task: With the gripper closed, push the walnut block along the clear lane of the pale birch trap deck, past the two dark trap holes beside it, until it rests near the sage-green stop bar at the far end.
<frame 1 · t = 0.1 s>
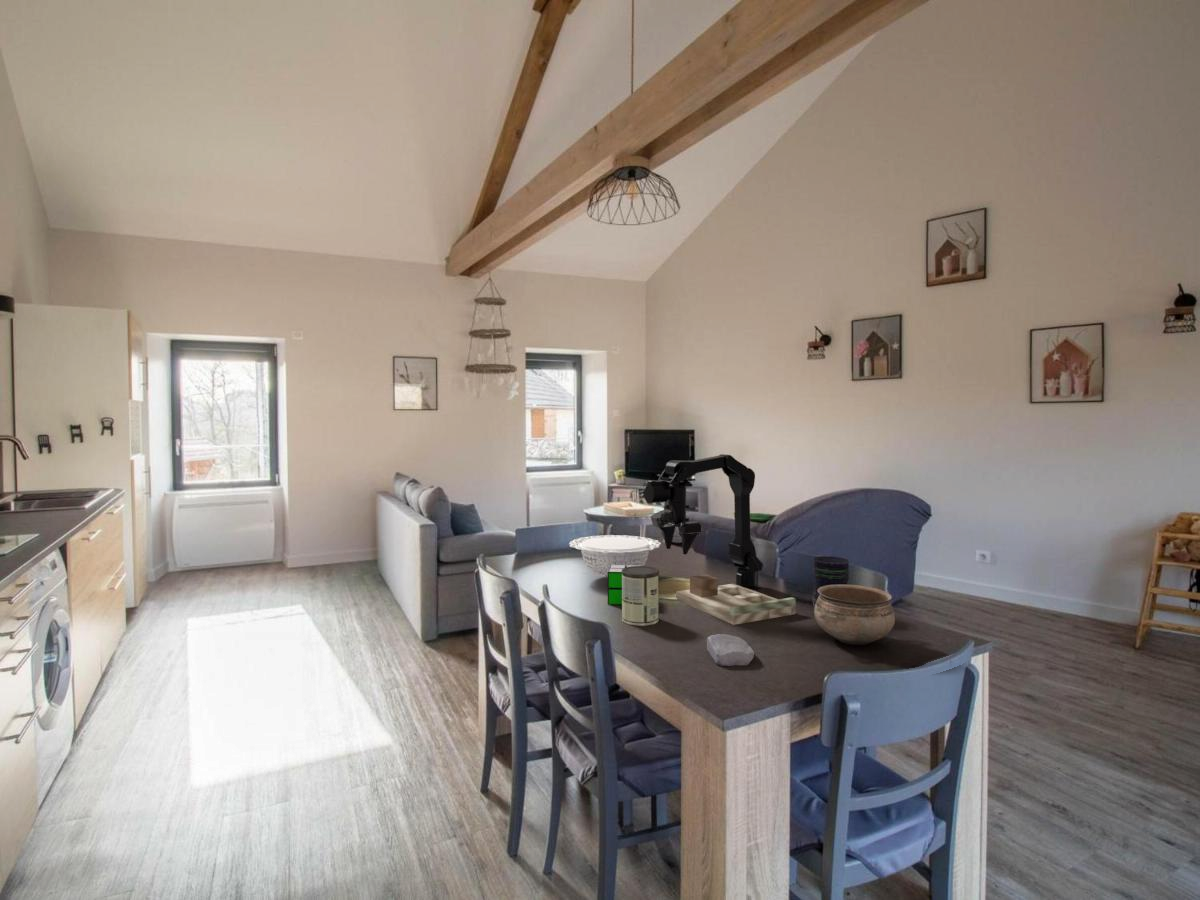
hand: (676, 551, 208), 14 cm above the table, fingers open, 9 cm apart
stone block: (731, 658, 158), on the table
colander: (614, 579, 232), on the table
coffee can: (640, 621, 186), on the table
cooking pot: (853, 642, 169), on the table
walnut block: (703, 593, 204), point 2 cm above the table, touching trap deck
puzzle cube: (625, 601, 205), on the table
trap deck: (733, 606, 199), on the table
storage jar: (830, 611, 195), on the table
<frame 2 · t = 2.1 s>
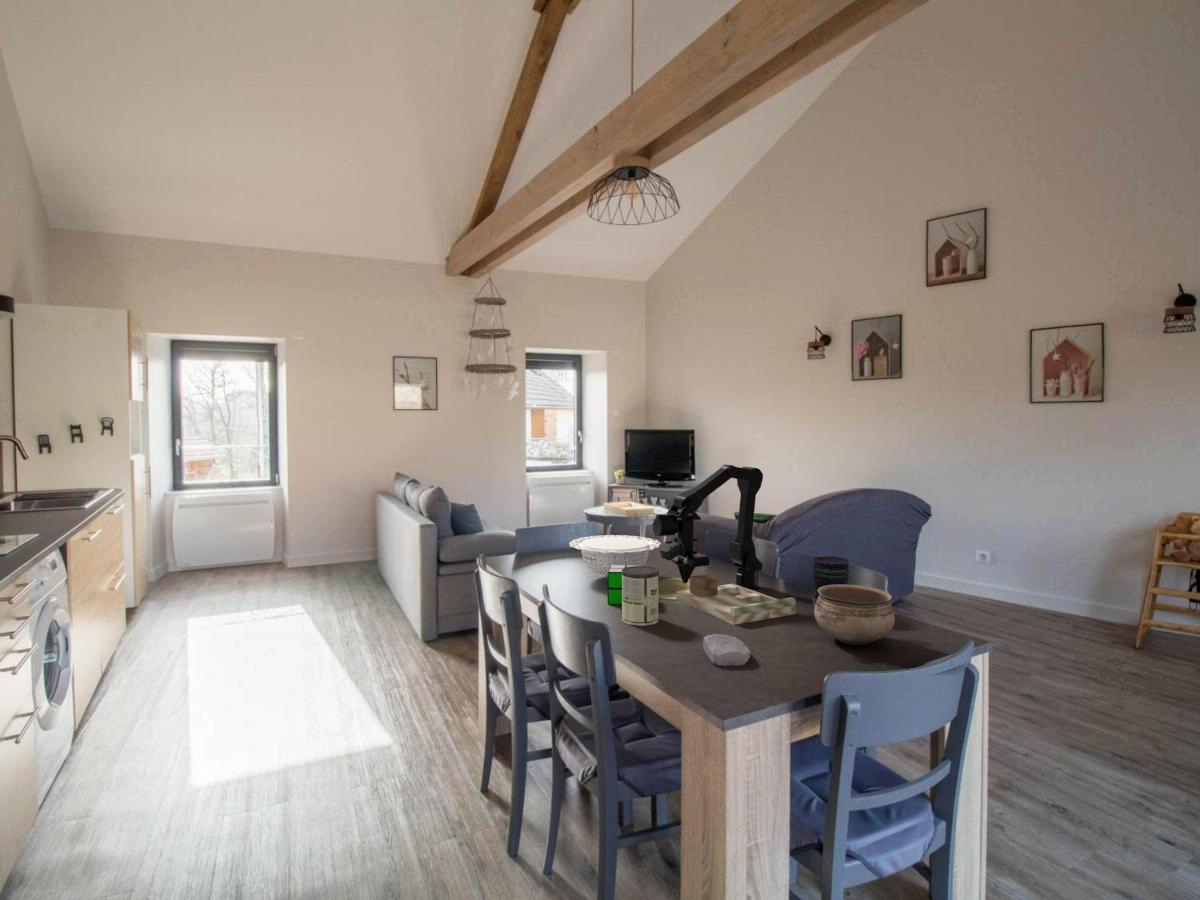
hand: (684, 583, 213), 4 cm above the table, fingers closed
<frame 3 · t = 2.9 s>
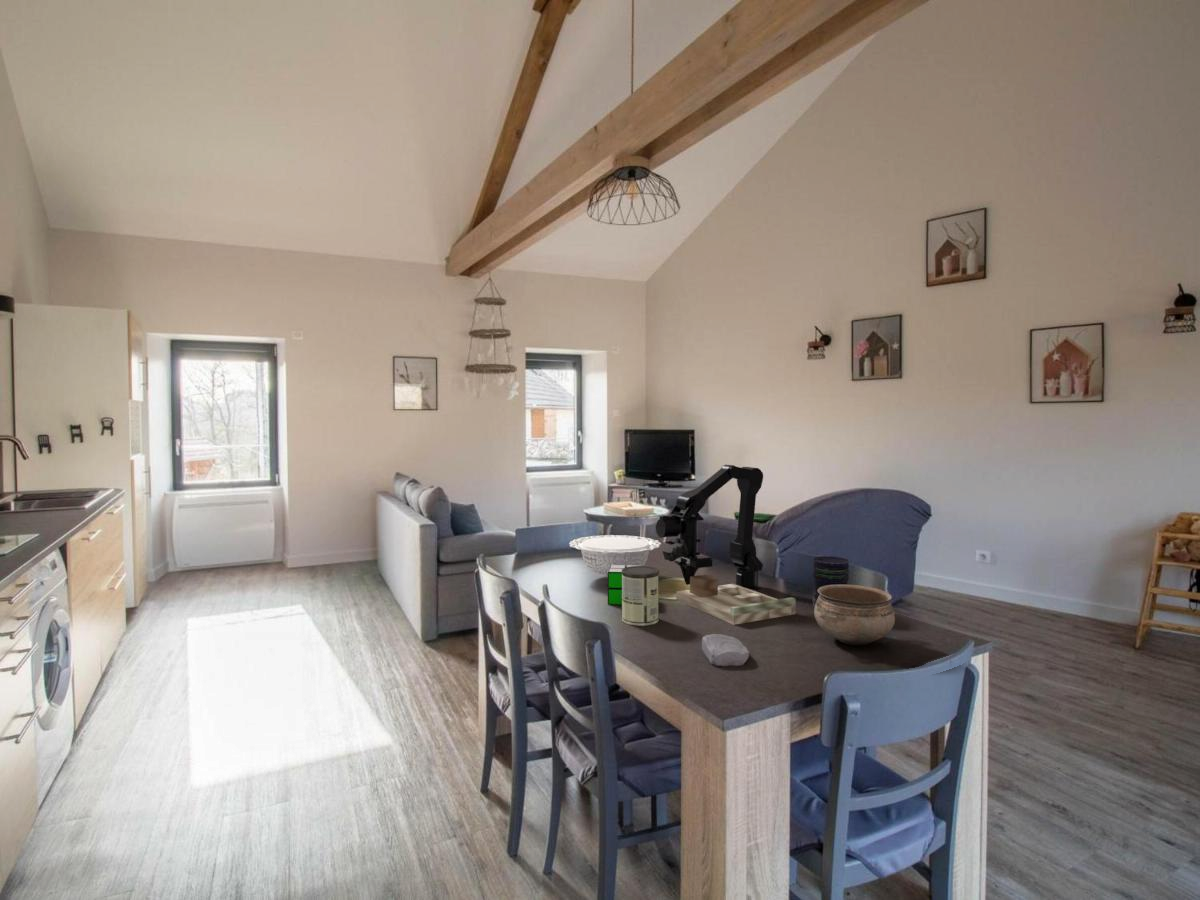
hand: (687, 584, 211), 3 cm above the table, fingers closed
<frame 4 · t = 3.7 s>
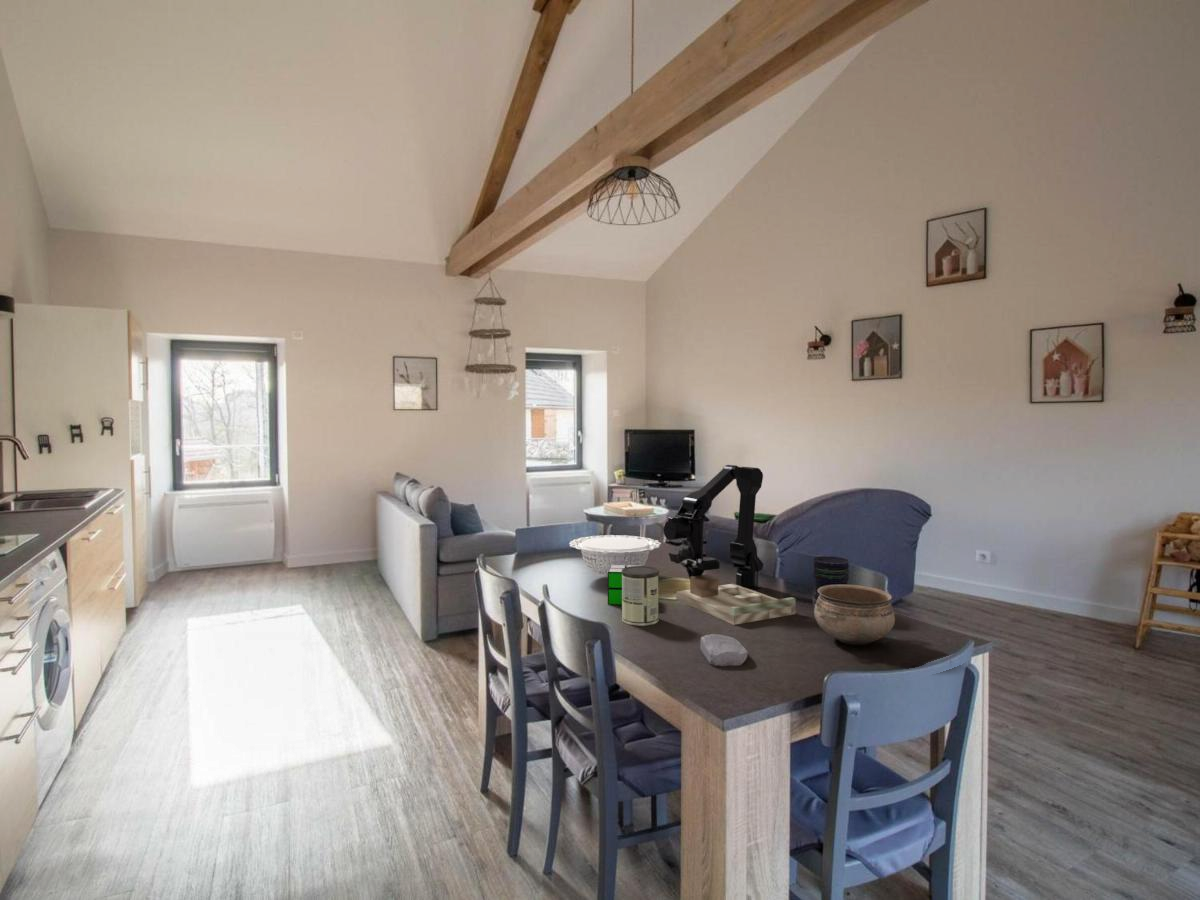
hand: (693, 586, 208), 4 cm above the table, fingers closed
walnut block: (704, 594, 204), point 3 cm above the table, touching gripper
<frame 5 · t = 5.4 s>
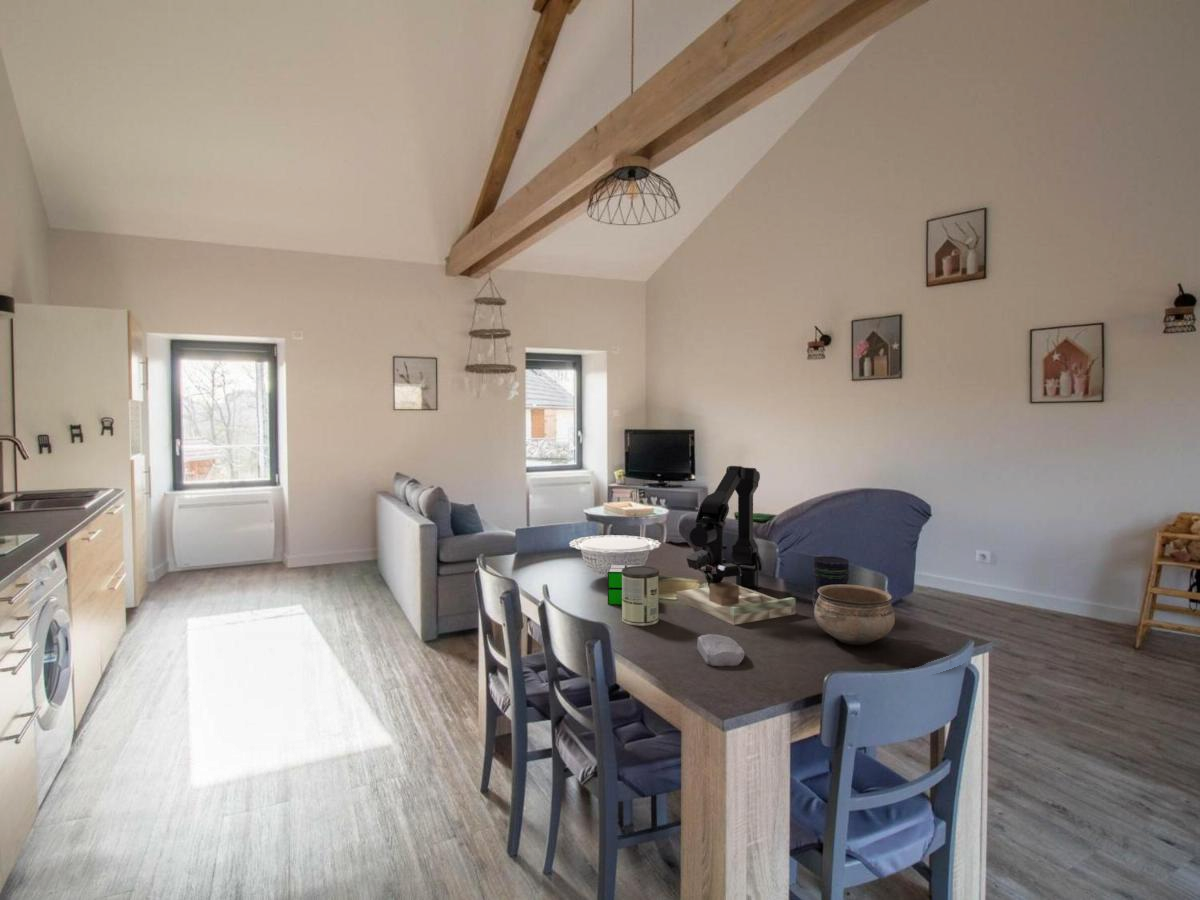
hand: (712, 593, 199), 4 cm above the table, fingers closed
walnut block: (723, 601, 195), point 3 cm above the table, touching gripper
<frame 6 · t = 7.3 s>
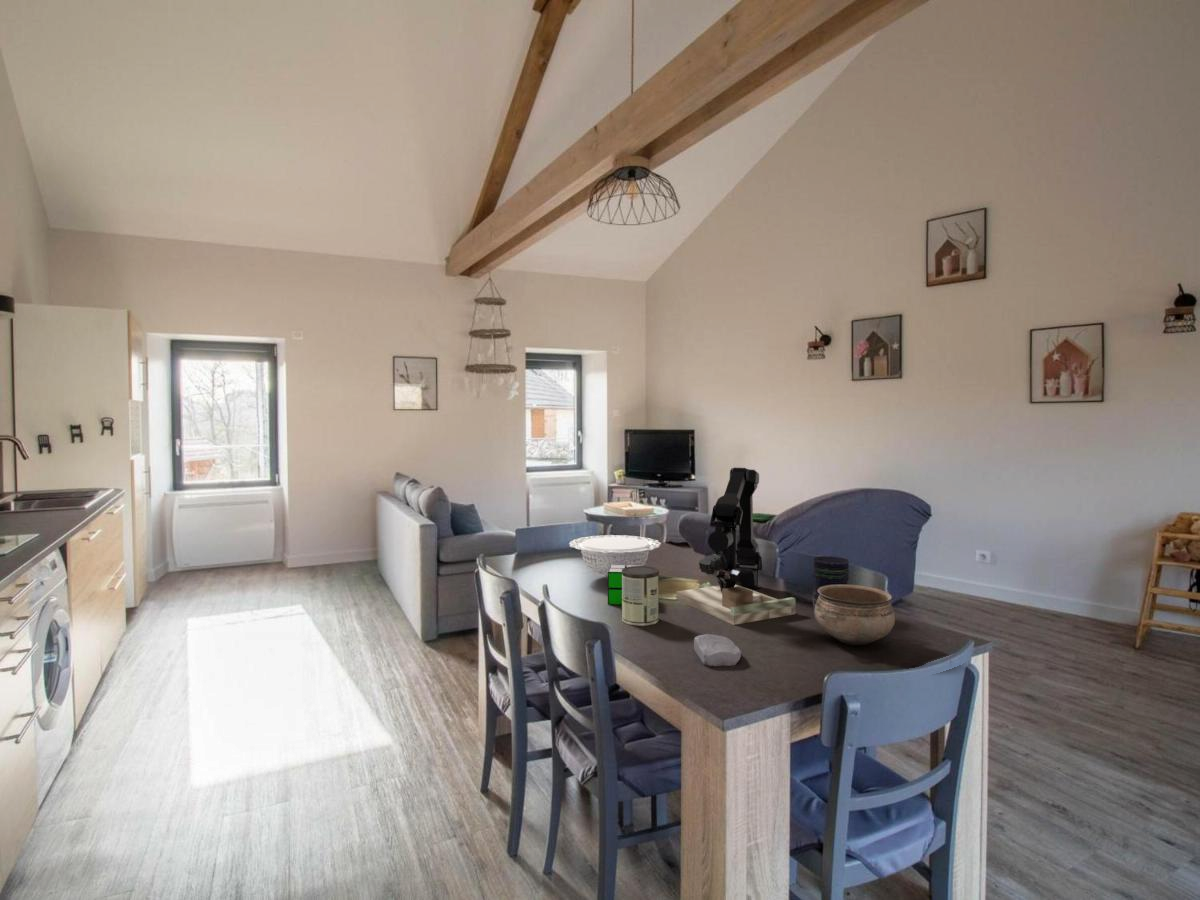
hand: (725, 598, 194), 4 cm above the table, fingers closed
walnut block: (737, 607, 190), point 2 cm above the table, touching gripper, trap deck
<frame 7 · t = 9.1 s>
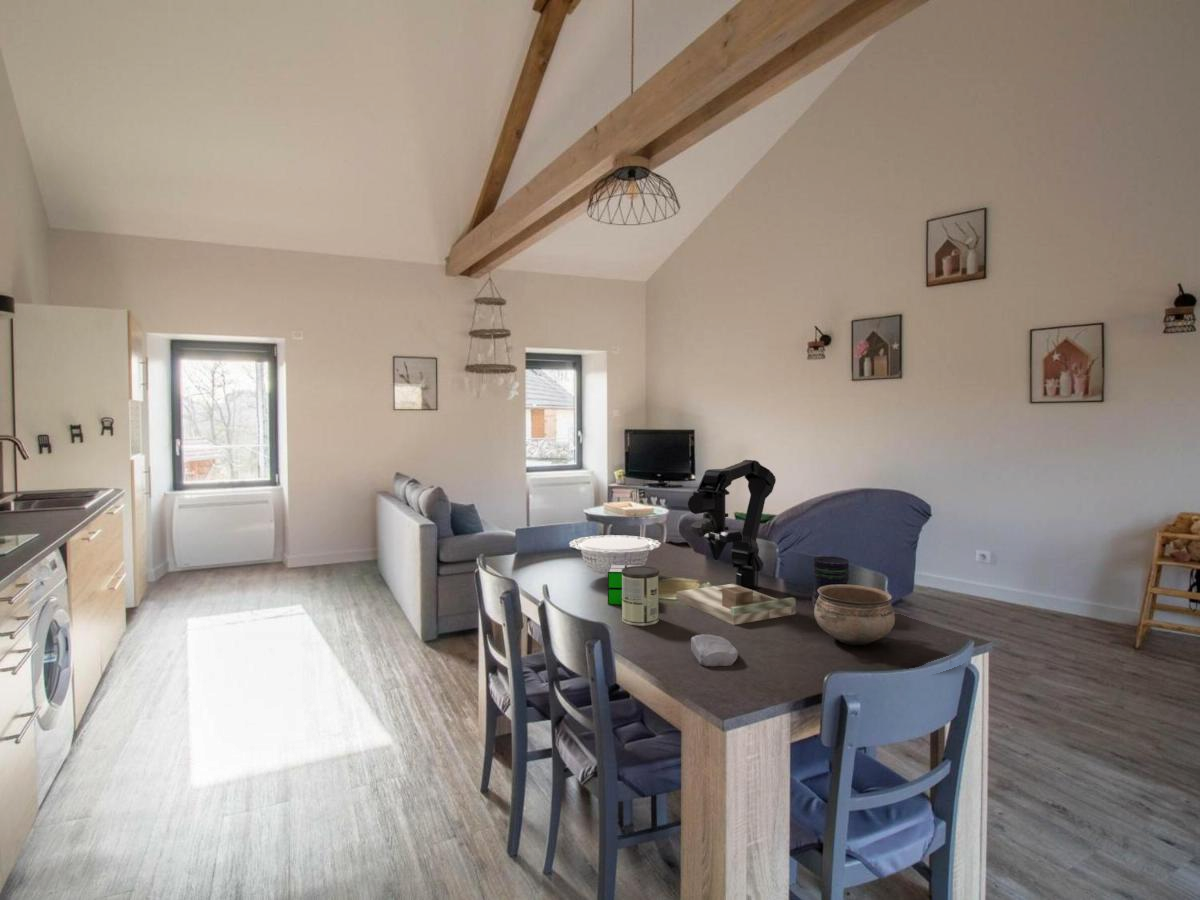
hand: (716, 559, 210), 12 cm above the table, fingers closed
walnut block: (737, 607, 190), point 2 cm above the table, touching trap deck
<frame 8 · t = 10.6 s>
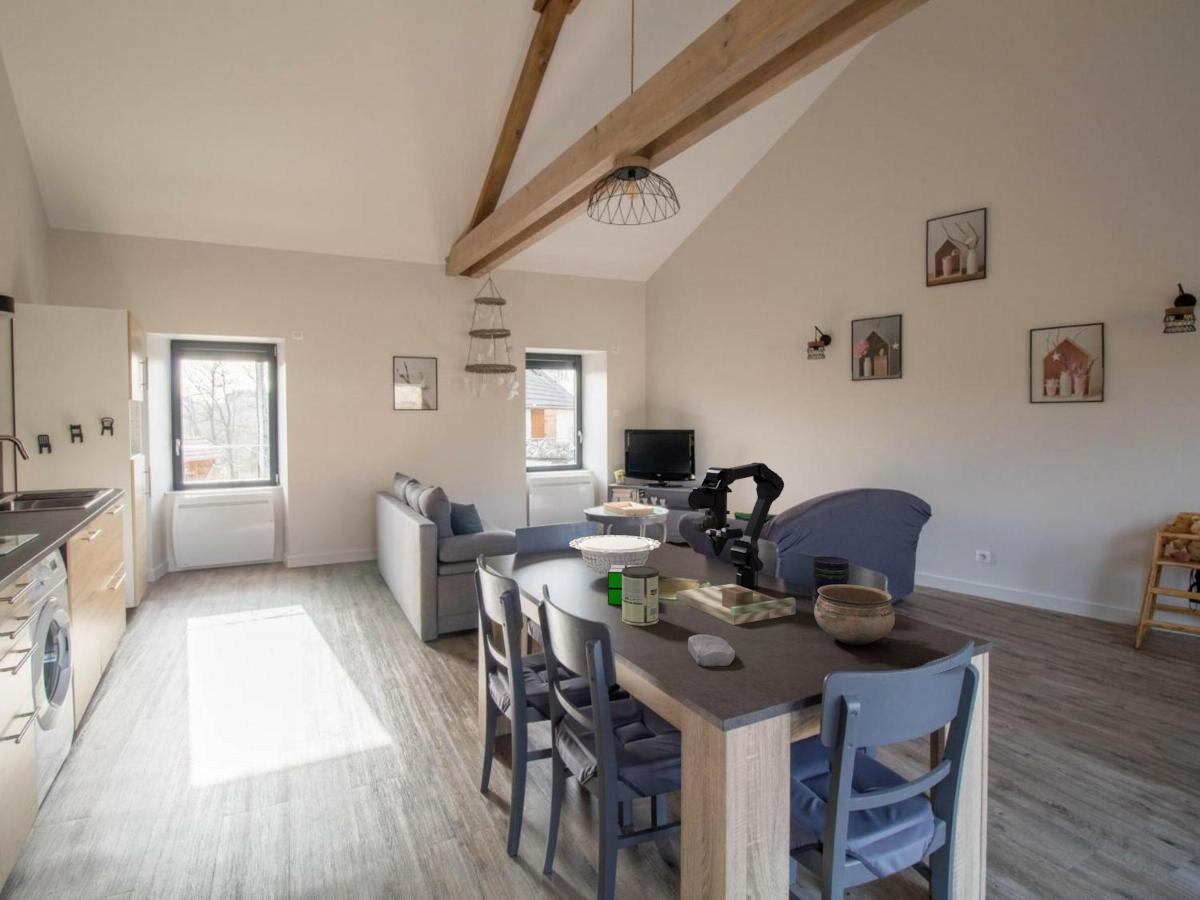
hand: (717, 556, 213), 12 cm above the table, fingers closed
at the end: walnut block inside the target area (0.4 cm from its centre), point 2.5 cm above the table; walnut block tilted 0° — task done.
